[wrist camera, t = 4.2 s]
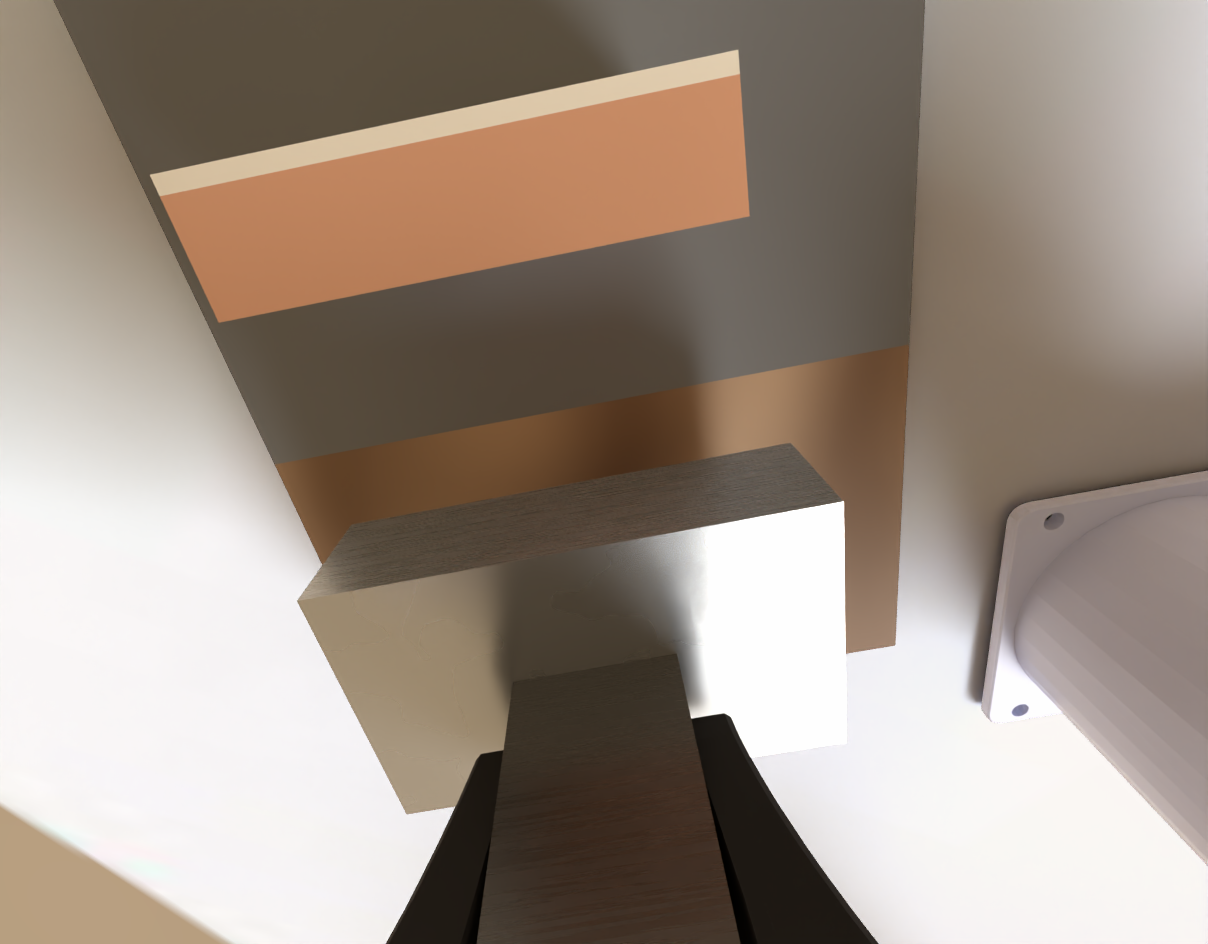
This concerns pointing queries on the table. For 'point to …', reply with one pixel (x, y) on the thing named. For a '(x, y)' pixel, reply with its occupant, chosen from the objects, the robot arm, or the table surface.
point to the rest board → (658, 461)
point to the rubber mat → (556, 283)
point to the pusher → (595, 675)
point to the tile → (465, 189)
